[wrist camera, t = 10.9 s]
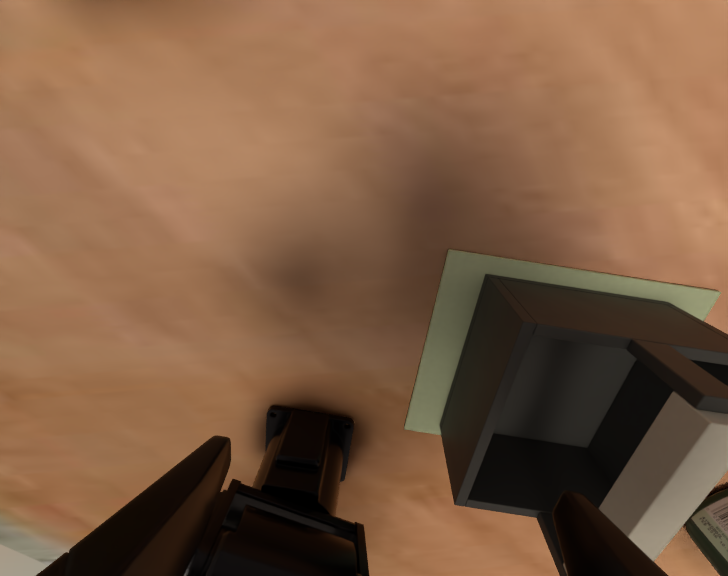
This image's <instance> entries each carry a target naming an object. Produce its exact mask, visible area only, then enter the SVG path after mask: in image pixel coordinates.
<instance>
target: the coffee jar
mask: <svg viewBox="0 0 728 576" xmlns="http://www.w3.org/2000/svg"><path fill="white" fill-rule="evenodd" d="M685 523H686V528H687V531H688V533H689V535H690V537H691V538H692V540H693V541H694V542H695V544H696V545H697V546H698V548H699V549H700V550H701V552H702V553H703V554H704V555H705V557H706V558H707V559H708V561H709V562H710V563H711V564H712V566H713V567H714V568H715V570H716V571H717V572H718V573H719V575H720V576H728V489H725V490H722V491H720V492H717V493H715V494H713V495H711V496H709V497H707V498H705V499H704V501H703V502H702V503H701V504H700V505H699V506H698V507H697V509H696V510H695V511H694V512H693V514H692V515H691V516H690V517H689V519H688V520H687V521H686V522H685Z"/></svg>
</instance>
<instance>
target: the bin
mask: <svg viewBox="0 0 728 576" xmlns="http://www.w3.org/2000/svg"><path fill="white" fill-rule="evenodd" d="M439 426H440V430H441V437H442V442H443V447H444V452H445V458H446V463H447V468H448V473H449V479H450V484H451V489H452V494H453V500H454V504H455V505H458V506H465V507H471V508H478V509H484V510H490V511H497V512H503V513H510V514H516V515H522V516H529V517H535V518H537V520H538V523H539V525H540V528H541V530H542V533H543V535H544V538H545V540H546V543H547V545H548V547H549V550H550V552H551V555H552V557H553V560H554V562H555V565H556V567H557V570H558V572H559V575H560V576H568V575H567V571H566V567H565V563H564V560H563V556H562V552H561V548H560V544H559V540H558V537H557V533H556V529H555V525H554V521H553V508H554V506H555V504H556V503H557V501H558V499H559V497H560V495H561V494H562V492H563V491H565V490H571V491H578V492H581V493H582V494H584V495H585V496H586V497H587V498H588V499H589V500H590V501H591V502H592V503H593V504H594V505H595V506H596V507H597V508H598V509H599V510H601V511H602V512H603V513H604V514H605V515H606V516H607V517H608V518H609V519H610V520H611V521H612V522H613V523H614V524H615V525H616V526H617V527H618V528H619V529H620V530H621V531H622V532H623V533H624V534H625V535H626V536H628V537H629V538H630V539H631V540H632V541H633V542H634V543H635V544H636V545H637V546H638V547H639V548H640V549H641V550H642V551H643V552H644V553H645V554H646V555H647V556H648V557H649V558H650V559H651V560H652V561H653V562H654V561H655V559H656V558H657V557H658V556H659V554H660V553H661V552H662V551H663V549H664V548H665V547H666V546H667V544H668V543H669V542H670V541H671V540H672V538H673V537H674V536H675V535H676V533H677V532H678V531H679V530H680V528H681V527H682V526H683V525H684V524H685V522H686V521H687V520H688V519H689V517H690V516H691V515H692V514H693V512H694V511H695V510H696V509H697V507H698V506H699V505H700V504H701V503H702V501H703V500H704V499H705V498H706V496H707V495H708V494H709V493H710V491H711V490H712V489H713V488H714V487H715V485H716V484H717V483H718V482H719V480H720V479H721V478H722V477H723V475H724V474H725V473H726V472H727V471H728V334H726V333H724V332H722V331H720V330H718V329H717V328H715V327H713V326H711V325H709V324H708V323H706V322H704V321H702V320H700V319H698V318H697V317H695V316H693V315H691V314H689V313H688V312H686V311H684V310H682V309H680V308H678V307H677V306H675V305H673V304H671V303H669V302H665V301H659V300H652V299H646V298H639V297H633V296H626V295H620V294H613V293H607V292H601V291H594V290H588V289H581V288H575V287H568V286H562V285H556V284H549V283H543V282H536V281H530V280H523V279H517V278H510V277H504V276H498V275H491V274H485V277H484V280H483V284H482V287H481V290H480V293H479V297H478V300H477V303H476V306H475V310H474V313H473V316H472V320H471V323H470V326H469V329H468V333H467V336H466V339H465V343H464V346H463V349H462V352H461V356H460V359H459V362H458V366H457V369H456V372H455V375H454V379H453V382H452V385H451V388H450V392H449V395H448V398H447V402H446V405H445V408H444V411H443V415H442V418H441V421H440V425H439Z"/></svg>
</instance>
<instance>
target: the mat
mask: <svg viewBox="0 0 728 576" xmlns="http://www.w3.org/2000/svg"><path fill="white" fill-rule="evenodd" d="M485 274H491V275H498V276H504V277H510V278H517V279H523V280H530V281H536V282H543V283H549V284H556V285H562V286H568V287H575V288H581V289H588V290H594V291H601V292H607V293H613V294H620V295H626V296H633V297H639V298H646V299H652V300H659V301H665V302H669V303H671V304H673V305H675V306H677V307H678V308H680V309H682V310H684V311H686V312H688V313H689V314H691V315H693V316H695V317H697V318H698V319H700V320H702V321H704V320H705V318H706V317H707V315H708V313H709V312H710V310H711V308H712V307H713V305H714V304H715V302H716V300H717V299H718V297H719V295H720V294H721V292H720V291H717V290H711V289H705V288H698V287H692V286H685V285H679V284H672V283H666V282H659V281H653V280H646V279H640V278H633V277H627V276H620V275H614V274H607V273H601V272H595V271H588V270H582V269H575V268H569V267H562V266H556V265H549V264H543V263H536V262H530V261H523V260H517V259H510V258H504V257H497V256H491V255H484V254H478V253H471V252H465V251H458V250H452V249H448V252H447V256H446V261H445V265H444V269H443V273H442V277H441V281H440V285H439V289H438V293H437V297H436V301H435V305H434V309H433V313H432V317H431V321H430V325H429V329H428V333H427V337H426V341H425V345H424V349H423V353H422V357H421V361H420V365H419V369H418V373H417V377H416V381H415V385H414V389H413V393H412V397H411V401H410V405H409V409H408V413H407V417H406V421H405V425H404V429H405V430H412V431H418V432H424V433H431V434H437V435H441V430H440V426H439V425H440V421H441V418H442V415H443V411H444V408H445V405H446V402H447V398H448V395H449V392H450V388H451V385H452V382H453V379H454V375H455V372H456V369H457V366H458V362H459V359H460V356H461V352H462V349H463V346H464V343H465V339H466V336H467V333H468V329H469V326H470V323H471V320H472V316H473V313H474V310H475V306H476V303H477V300H478V297H479V293H480V290H481V287H482V284H483V280H484V277H485Z"/></svg>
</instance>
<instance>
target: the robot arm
mask: <svg viewBox="0 0 728 576" xmlns="http://www.w3.org/2000/svg"><path fill="white" fill-rule="evenodd" d="M273 412H274V413H276V414H274V413H273ZM346 424H349V425H346ZM353 428H354V421H353V419H351V418H349V417H343V416H337V415H331V414H324V413H318V412H311V411H305V410H298V409H292V408H286V407H279V406H271V407H270V408H269V409H268V412H267V421H266V450H265V455H264V458H263V460H262V463H261V465H260V468H259V471H258V473H257V476H256V478H255V481H254V483H253V486H252V487H250V486H247V485H244V484H242V483H241V481H238V480H235V479H232V481H231V483H230V485H229V488H228V490H223V492H220V491H221V488H222V485H223V483H224V480H225V477H226V475H227V472H228V469H229V466H230V462H231V442H230V438H228V437H224V436H213V437H212V438H210V439H209V440H208V441H206V442H205V443H204V444H203V445H201V446H200V447H199V448H198V449H196V450H195V451H194V452H192V453H191V454H190V455H189V456H187V457H186V458H185V459H184V460H182V461H181V462H180V463H179V464H177V465H176V466H175V467H173V468H172V469H171V470H170V471H168V472H167V473H166V474H165V475H163V476H162V477H161V478H160V479H158V480H157V481H156V482H154V483H153V484H152V485H151V486H149V487H148V488H147V489H146V490H144V491H143V492H142V493H140V494H139V495H138V496H137V497H135V498H134V499H133V500H132V501H130V502H129V503H128V504H127V505H125V506H124V507H123V508H121V509H120V510H119V511H118V512H116V513H115V514H114V515H113V516H111V517H110V518H109V519H108V520H106V521H105V522H104V523H102V524H101V525H100V526H99V527H97V528H96V529H95V530H94V531H92V532H91V533H90V534H89V535H87V536H86V537H85V538H83V539H82V540H81V541H80V542H78V543H77V544H76V545H75V546H73V547H72V548H71V549H70V550H69V553H68V552H66V553H64V554H63V555H62V556H60V557H59V558H58V559H57V560H55V561H54V562H53V563H52V564H50V565H49V566H48V567H46V568H45V569H44V570H43V571H41V572H40V573H39V574H37V575H36V576H369V570H368V560H367V551H366V541H365V532H364V525H363V524H360V523H357V522H355V523H352V522H349V521H346V520H343V519H341V518H338V517H335V514H336V506H337V499H338V492H339V485H340V482H342V481H344V479H345V475H346V469H347V463H348V457H349V451H350V445H351V440H352V434H353ZM553 521H554V525H555V529H556V533H557V537H558V540H559V544H560V548H561V552H562V556H563V560H564V563H565V567H566V571H567V575H568V576H668V575H667V574H666V573H665V572H664V571H663V570H662V569H661V568H660V567H659V566H658V565H657V564H656V563H655V562H653V561H652V560H651V559H650V558H649V557H648V556H647V555H646V554H645V553H644V552H643V551H642V550H641V549H640V548H639V547H638V546H637V545H636V544H635V543H634V542H633V541H632V540H631V539H630V538H629V537H628V536H626V535H625V534H624V533H623V532H622V531H621V530H620V529H619V528H618V527H617V526H616V525H615V524H614V523H613V522H612V521H611V520H610V519H609V518H608V517H607V516H606V515H605V514H604V513H603V512H602V511H601V510H599V509H598V508H597V507H596V506H595V505H594V504H593V503H592V502H591V501H590V500H589V499H588V498H587V497H586V496H585V495H584V494H582V493H581V492H578V491H571V490H565V491H563V492H562V494H561V495H560V497H559V499H558V501H557V503H556V504H555V506H554V508H553Z"/></svg>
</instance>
